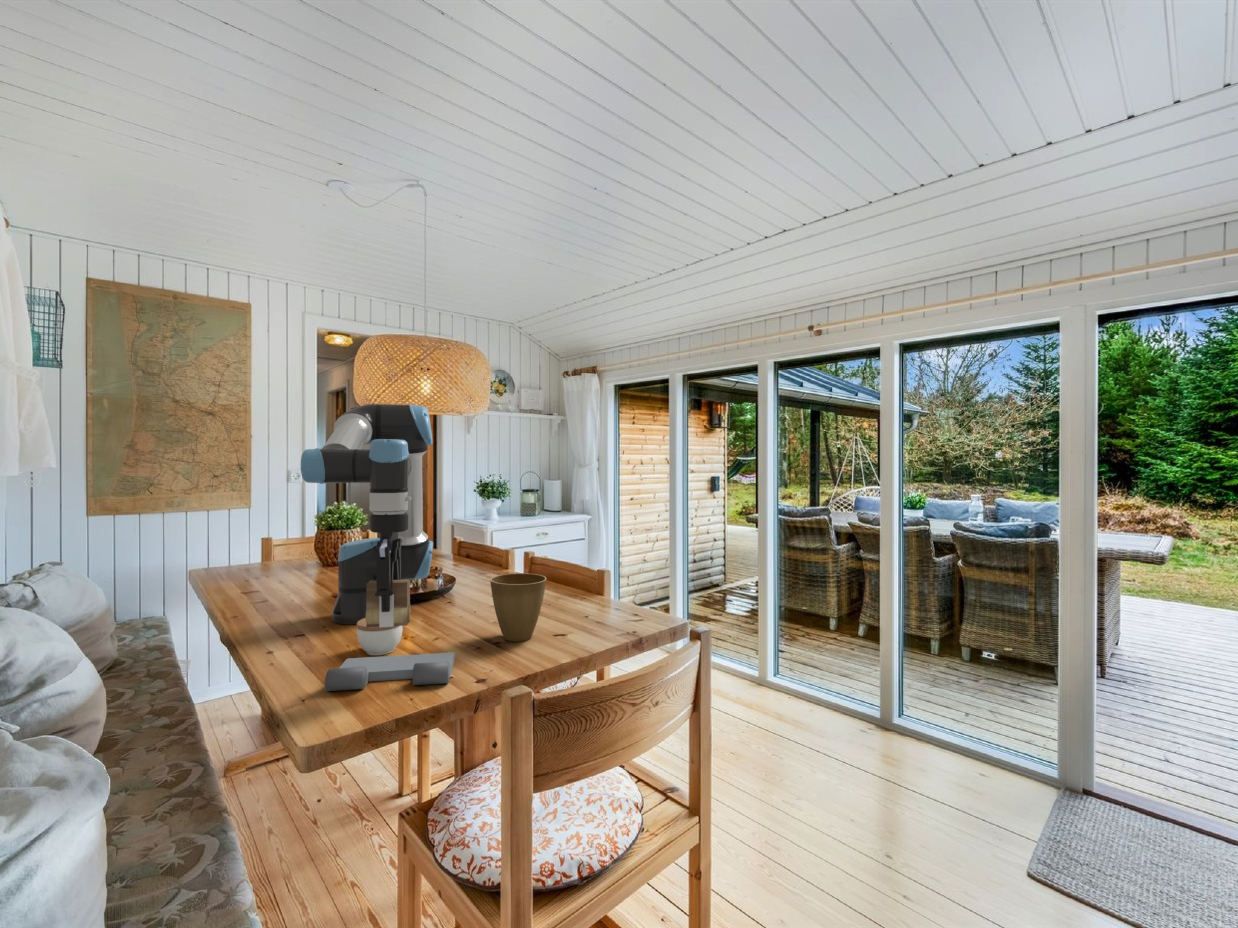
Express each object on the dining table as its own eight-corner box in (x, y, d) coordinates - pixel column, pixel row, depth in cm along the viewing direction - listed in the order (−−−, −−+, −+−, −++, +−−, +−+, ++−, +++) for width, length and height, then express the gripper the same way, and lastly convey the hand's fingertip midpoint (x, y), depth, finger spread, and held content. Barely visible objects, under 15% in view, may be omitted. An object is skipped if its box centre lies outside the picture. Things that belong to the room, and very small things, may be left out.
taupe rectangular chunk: (370, 621, 119) (371, 580, 119) (410, 620, 121) (410, 578, 120) (365, 628, 115) (365, 584, 115) (406, 626, 116) (406, 583, 116)
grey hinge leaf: (447, 686, 118) (447, 665, 118) (324, 694, 114) (324, 673, 114) (454, 660, 133) (454, 642, 133) (347, 667, 129) (346, 648, 128)
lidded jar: (412, 648, 141) (412, 611, 141) (375, 661, 132) (375, 622, 132) (385, 641, 147) (385, 605, 147) (347, 653, 137) (347, 615, 137)
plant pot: (535, 648, 142) (535, 585, 141) (480, 644, 145) (480, 582, 144) (553, 630, 156) (553, 573, 156) (503, 627, 159) (503, 571, 159)
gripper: (399, 516, 110) (399, 634, 110) (415, 508, 127) (415, 610, 127) (358, 516, 108) (359, 636, 108) (380, 509, 125) (380, 612, 126)
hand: (389, 622), depth 118 cm, fingers closed on taupe rectangular chunk, 4 cm apart
